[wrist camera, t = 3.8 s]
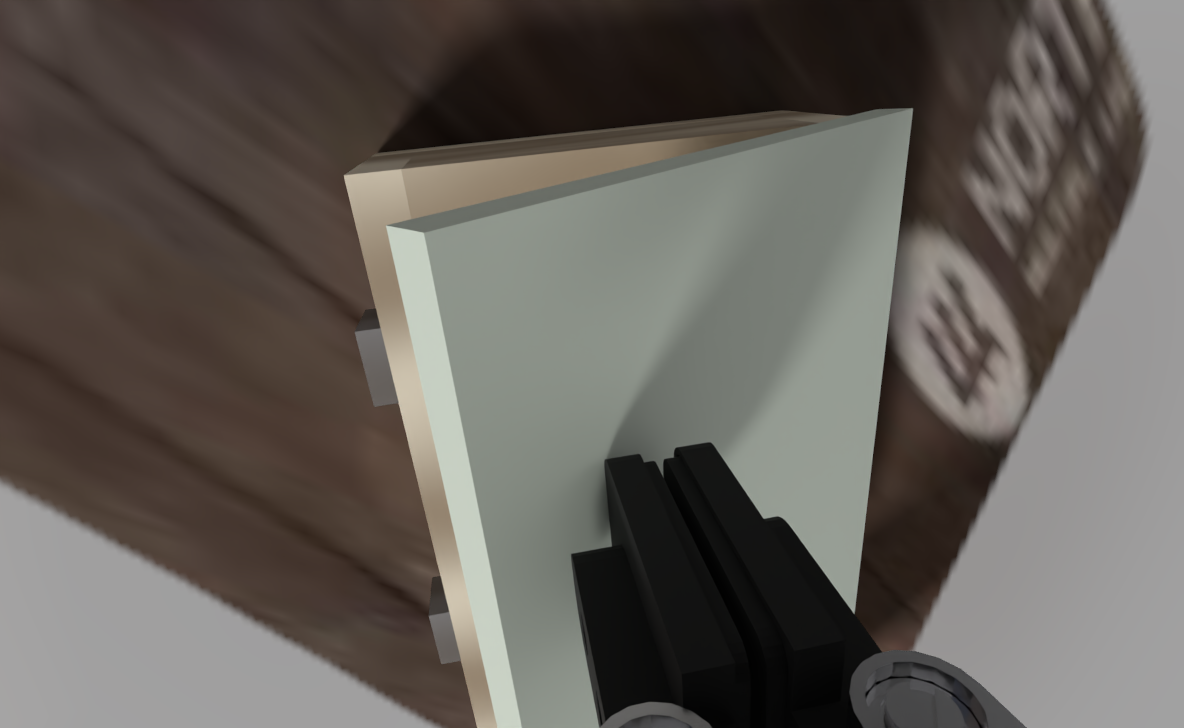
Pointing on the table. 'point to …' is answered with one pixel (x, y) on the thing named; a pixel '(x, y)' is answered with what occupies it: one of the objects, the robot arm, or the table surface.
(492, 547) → the lid
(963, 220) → the table surface
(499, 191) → the beige box
